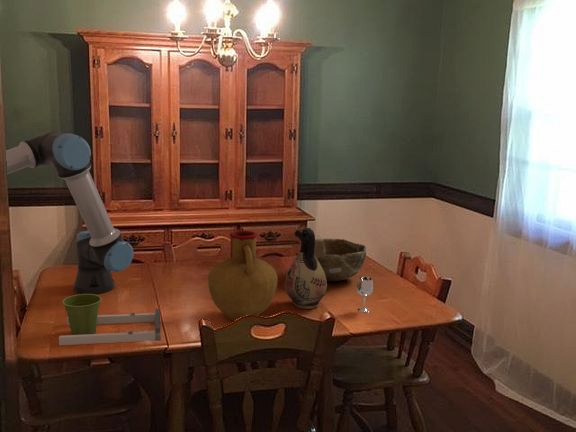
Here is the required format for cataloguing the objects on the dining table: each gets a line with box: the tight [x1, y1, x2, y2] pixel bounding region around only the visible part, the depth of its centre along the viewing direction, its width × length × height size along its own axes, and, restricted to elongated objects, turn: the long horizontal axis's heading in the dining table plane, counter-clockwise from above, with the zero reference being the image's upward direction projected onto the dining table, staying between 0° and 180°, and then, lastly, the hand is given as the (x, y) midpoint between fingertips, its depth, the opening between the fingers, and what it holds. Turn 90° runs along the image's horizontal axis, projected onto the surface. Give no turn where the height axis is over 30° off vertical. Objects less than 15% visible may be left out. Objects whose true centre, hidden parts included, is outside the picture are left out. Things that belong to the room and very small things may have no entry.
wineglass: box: [356, 276, 374, 313], centre depth 226 cm, size 6×6×12 cm
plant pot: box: [61, 293, 103, 335], centre depth 198 cm, size 12×12×11 cm
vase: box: [207, 230, 278, 321], centre depth 214 cm, size 24×24×30 cm
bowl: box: [314, 238, 367, 282], centre depth 261 cm, size 28×27×15 cm
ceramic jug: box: [284, 227, 328, 310], centre depth 227 cm, size 17×15×30 cm
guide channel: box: [58, 308, 161, 346], centre depth 201 cm, size 30×18×4 cm, turn 101°
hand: (12, 291), depth 192 cm, fingers closed
